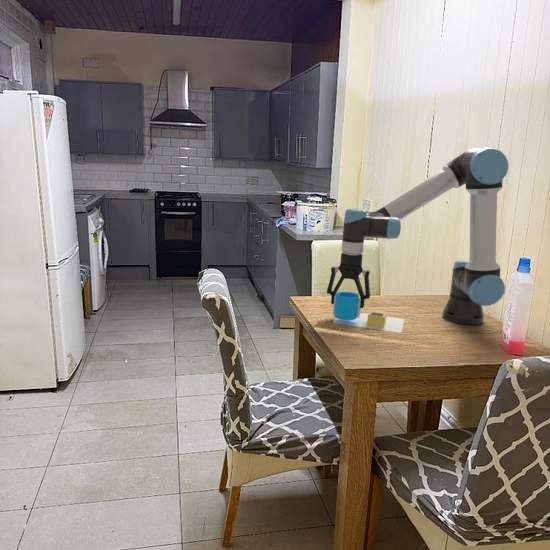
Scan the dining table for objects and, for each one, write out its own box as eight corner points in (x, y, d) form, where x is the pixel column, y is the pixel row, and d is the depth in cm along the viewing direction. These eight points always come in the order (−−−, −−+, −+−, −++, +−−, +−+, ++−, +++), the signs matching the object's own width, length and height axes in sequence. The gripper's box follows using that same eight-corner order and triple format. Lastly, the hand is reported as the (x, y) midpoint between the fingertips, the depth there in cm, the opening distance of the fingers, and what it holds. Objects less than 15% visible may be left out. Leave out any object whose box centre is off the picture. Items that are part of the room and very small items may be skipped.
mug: (352, 321, 177) (354, 299, 175) (330, 317, 181) (332, 295, 179) (363, 313, 187) (365, 292, 186) (342, 309, 191) (344, 288, 189)
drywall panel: (412, 323, 189) (413, 320, 189) (409, 337, 174) (409, 334, 173) (333, 312, 198) (334, 309, 198) (324, 324, 182) (324, 321, 182)
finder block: (385, 323, 184) (387, 311, 183) (383, 328, 178) (385, 316, 177) (369, 320, 186) (370, 309, 185) (366, 325, 180) (368, 313, 179)
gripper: (383, 254, 180) (376, 315, 185) (325, 248, 186) (320, 307, 191) (380, 258, 173) (373, 321, 178) (320, 251, 179) (316, 313, 184)
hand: (346, 314), depth 184 cm, fingers closed on mug, 8 cm apart
